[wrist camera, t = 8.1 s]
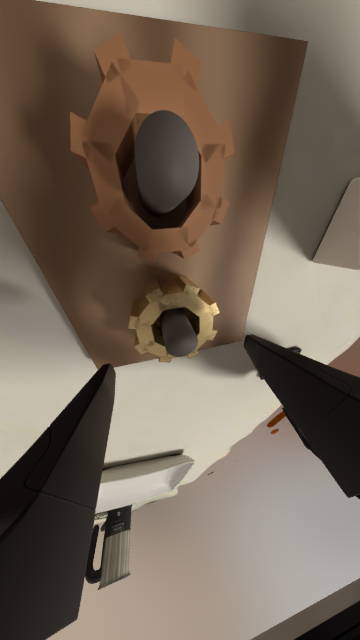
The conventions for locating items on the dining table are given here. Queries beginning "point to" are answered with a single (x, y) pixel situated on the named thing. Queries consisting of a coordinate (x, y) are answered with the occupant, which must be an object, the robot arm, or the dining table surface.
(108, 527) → the milk frother
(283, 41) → the gear board
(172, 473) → the square plate
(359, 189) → the milk carton
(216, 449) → the dining table surface
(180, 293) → the wooden gear
